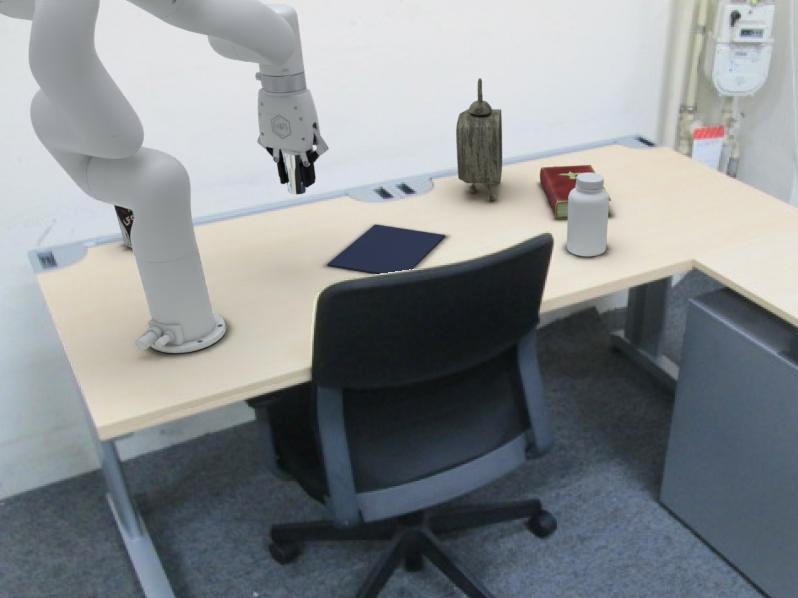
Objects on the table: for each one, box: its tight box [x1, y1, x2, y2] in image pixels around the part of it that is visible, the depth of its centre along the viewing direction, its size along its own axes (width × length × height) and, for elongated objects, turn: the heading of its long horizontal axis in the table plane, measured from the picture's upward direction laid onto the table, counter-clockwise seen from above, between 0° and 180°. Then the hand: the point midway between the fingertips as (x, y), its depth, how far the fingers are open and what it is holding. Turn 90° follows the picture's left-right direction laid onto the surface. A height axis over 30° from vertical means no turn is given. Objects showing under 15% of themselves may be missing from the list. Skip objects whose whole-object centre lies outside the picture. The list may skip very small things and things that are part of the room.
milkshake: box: [281, 149, 307, 196], centre depth 165 cm, size 5×5×10 cm
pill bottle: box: [566, 172, 610, 257], centre depth 176 cm, size 8×8×15 cm
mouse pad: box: [326, 224, 446, 275], centre depth 179 cm, size 20×16×1 cm
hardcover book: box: [539, 164, 612, 221], centre depth 201 cm, size 12×21×4 cm, turn 9°
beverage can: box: [113, 205, 134, 249], centre depth 177 cm, size 6×6×12 cm
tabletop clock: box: [455, 77, 503, 202], centre depth 198 cm, size 14×9×25 cm, turn 179°
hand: (298, 182), depth 167 cm, fingers closed on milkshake, 4 cm apart
